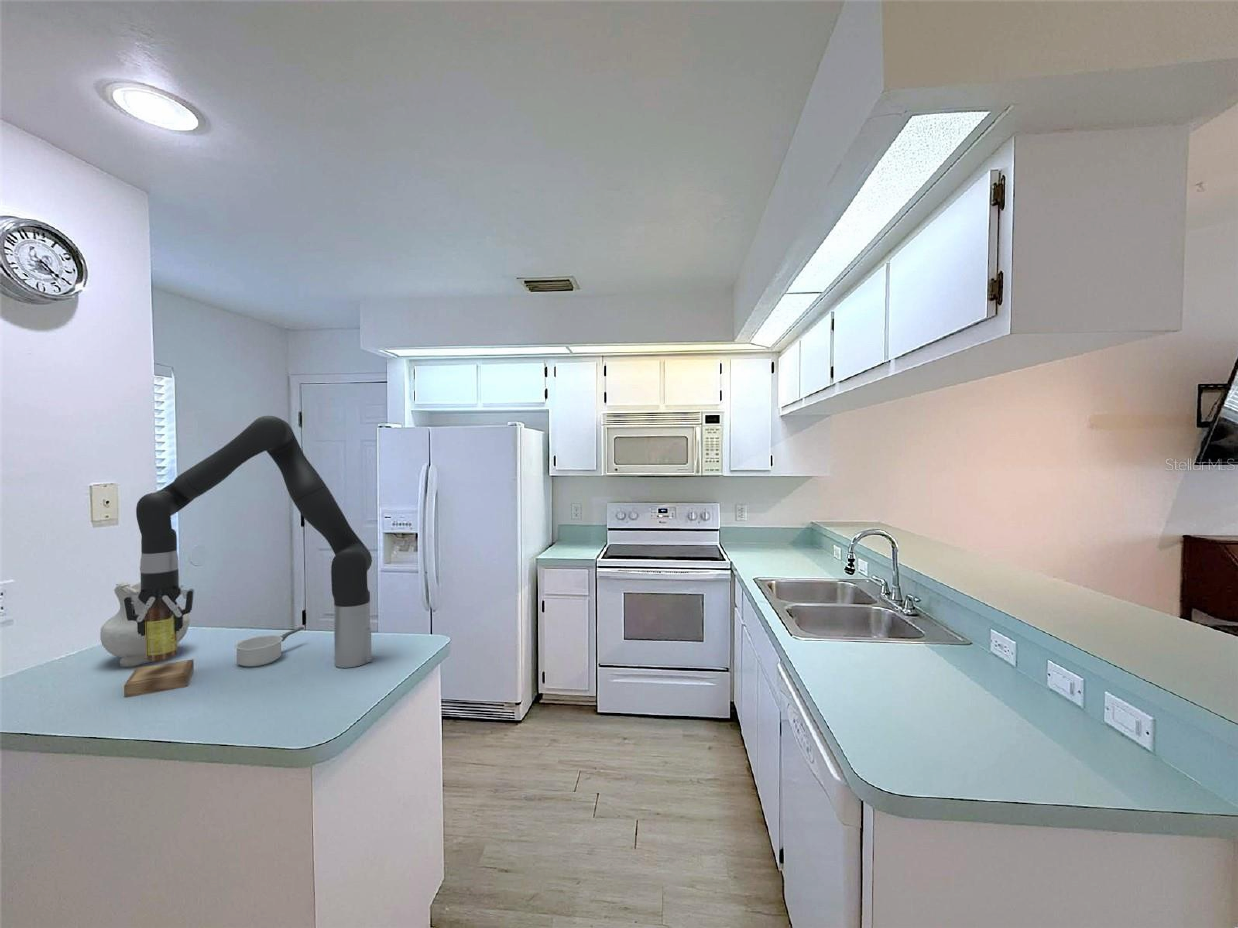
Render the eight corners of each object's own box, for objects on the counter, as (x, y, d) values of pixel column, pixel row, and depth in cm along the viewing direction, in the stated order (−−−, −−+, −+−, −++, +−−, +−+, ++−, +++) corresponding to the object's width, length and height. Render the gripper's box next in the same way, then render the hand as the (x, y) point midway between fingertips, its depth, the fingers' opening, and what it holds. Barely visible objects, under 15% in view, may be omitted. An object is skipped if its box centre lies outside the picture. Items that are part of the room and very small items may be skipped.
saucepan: (316, 646, 167) (316, 628, 167) (255, 671, 148) (254, 651, 148) (289, 642, 170) (289, 624, 170) (225, 666, 151) (225, 646, 151)
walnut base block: (193, 669, 148) (193, 658, 148) (186, 686, 138) (186, 673, 138) (136, 679, 142) (135, 667, 142) (124, 697, 132) (124, 684, 132)
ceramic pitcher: (106, 657, 160) (95, 575, 158) (189, 637, 173) (180, 561, 171) (103, 681, 144) (91, 590, 142) (195, 656, 157) (185, 573, 155)
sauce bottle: (182, 655, 141) (181, 580, 141) (153, 664, 136) (152, 586, 135) (168, 651, 144) (167, 578, 144) (140, 660, 138) (138, 583, 138)
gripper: (196, 563, 146) (197, 624, 147) (126, 569, 139) (127, 633, 139) (192, 568, 140) (193, 632, 140) (118, 574, 132) (119, 642, 133)
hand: (160, 632), depth 140 cm, fingers closed on sauce bottle, 6 cm apart
